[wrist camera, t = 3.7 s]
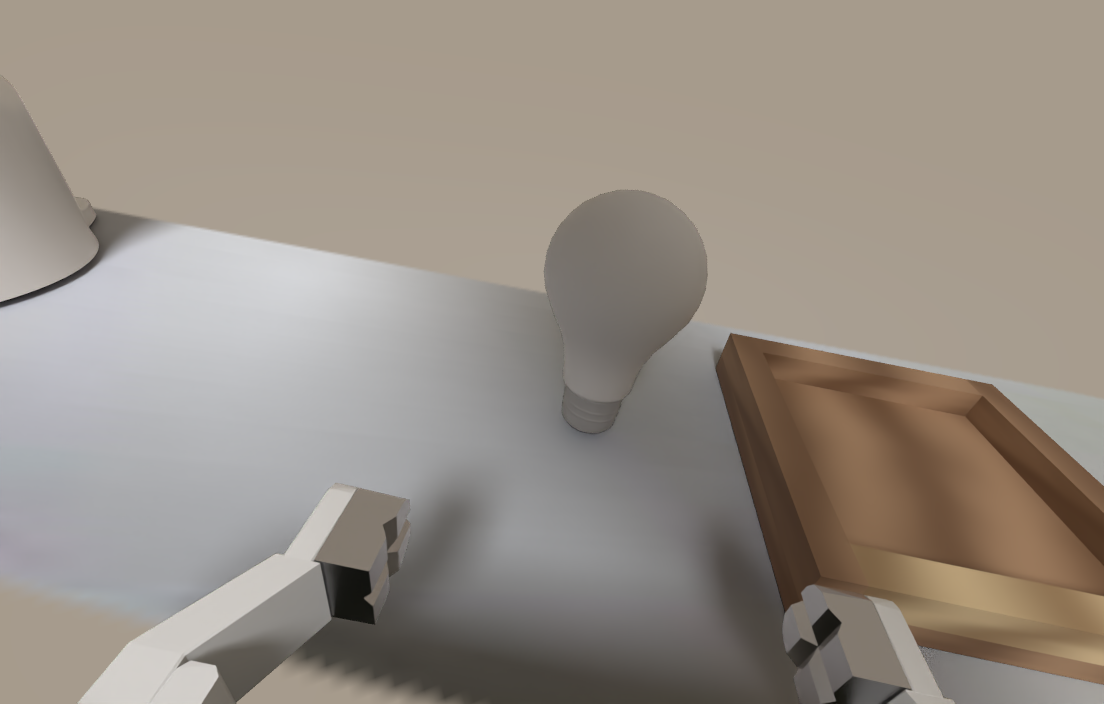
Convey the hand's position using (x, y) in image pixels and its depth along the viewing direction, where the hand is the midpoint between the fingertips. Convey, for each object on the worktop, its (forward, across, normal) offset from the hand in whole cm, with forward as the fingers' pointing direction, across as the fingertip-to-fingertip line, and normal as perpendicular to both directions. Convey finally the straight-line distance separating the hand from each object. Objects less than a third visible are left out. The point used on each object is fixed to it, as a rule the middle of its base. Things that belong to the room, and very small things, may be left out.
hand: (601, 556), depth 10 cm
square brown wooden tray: (+11, -15, +6) cm, 20 cm away
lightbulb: (+11, 0, +7) cm, 13 cm away
